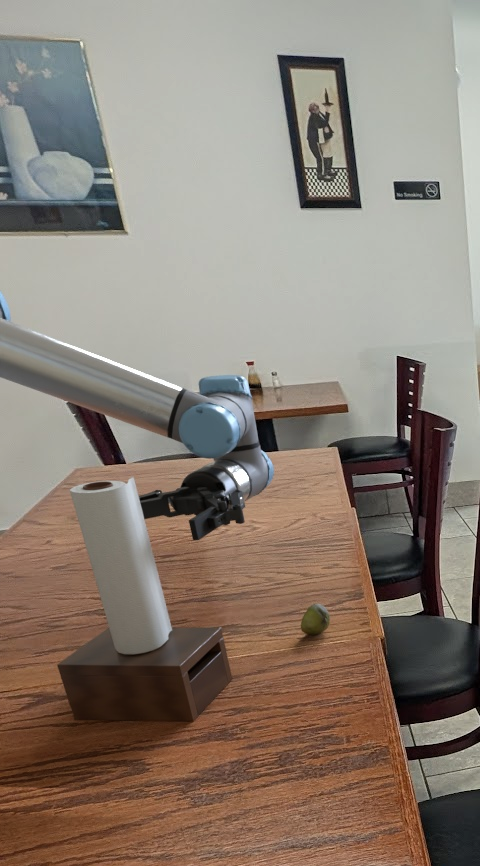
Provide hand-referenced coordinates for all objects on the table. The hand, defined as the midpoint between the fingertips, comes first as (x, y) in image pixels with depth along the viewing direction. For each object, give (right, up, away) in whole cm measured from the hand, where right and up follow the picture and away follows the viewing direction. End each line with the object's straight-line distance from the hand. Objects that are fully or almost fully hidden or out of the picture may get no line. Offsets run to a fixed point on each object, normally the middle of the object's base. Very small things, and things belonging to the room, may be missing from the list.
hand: (143, 530), depth 108 cm
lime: (+16, -13, +22) cm, 30 cm away
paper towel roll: (+1, -15, 0) cm, 15 cm away
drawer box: (0, -22, +3) cm, 23 cm away
